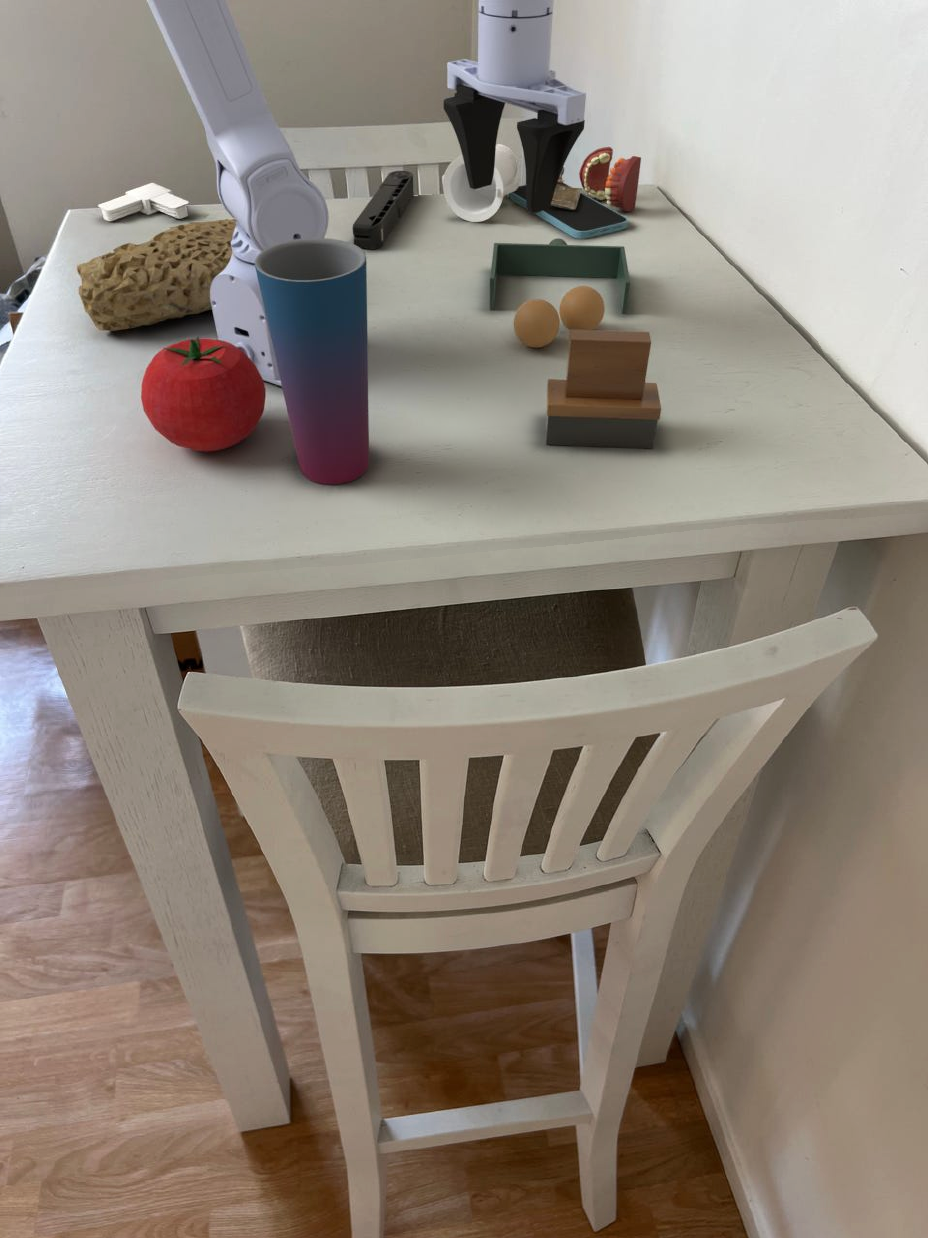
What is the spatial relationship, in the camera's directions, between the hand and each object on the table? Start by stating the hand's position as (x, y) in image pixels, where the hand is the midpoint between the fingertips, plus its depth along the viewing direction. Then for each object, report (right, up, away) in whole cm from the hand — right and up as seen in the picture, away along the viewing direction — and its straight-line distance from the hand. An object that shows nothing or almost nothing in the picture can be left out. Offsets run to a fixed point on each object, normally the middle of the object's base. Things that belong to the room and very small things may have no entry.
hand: (508, 197), depth 77 cm
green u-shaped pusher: (+5, -4, +10) cm, 12 cm away
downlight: (-3, +10, +20) cm, 23 cm away
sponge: (-29, -7, +7) cm, 31 cm away
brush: (+6, -23, -10) cm, 25 cm away
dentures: (+10, +16, +27) cm, 33 cm away
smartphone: (+12, +6, +20) cm, 24 cm away
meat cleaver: (+10, +13, +26) cm, 31 cm away
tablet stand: (-14, +10, +22) cm, 28 cm away
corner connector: (-40, +10, +22) cm, 47 cm away
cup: (-13, -26, -13) cm, 31 cm away
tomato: (-23, -23, -10) cm, 34 cm away
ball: (+7, -9, +2) cm, 11 cm away
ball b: (+2, -11, 0) cm, 11 cm away
